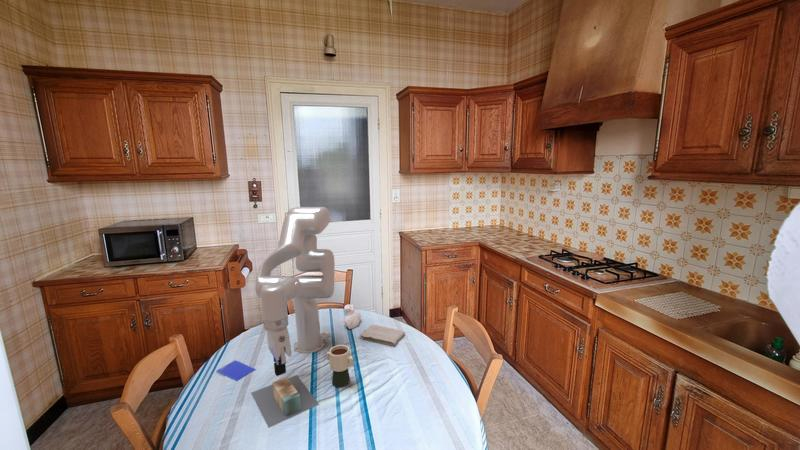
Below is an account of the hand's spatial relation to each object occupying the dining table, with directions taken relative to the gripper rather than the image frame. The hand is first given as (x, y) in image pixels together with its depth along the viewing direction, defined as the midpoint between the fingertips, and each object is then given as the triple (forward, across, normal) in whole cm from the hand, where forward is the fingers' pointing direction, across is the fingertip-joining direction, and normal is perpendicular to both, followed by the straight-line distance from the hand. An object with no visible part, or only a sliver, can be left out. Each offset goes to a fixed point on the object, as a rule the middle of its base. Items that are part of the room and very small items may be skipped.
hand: (280, 373), depth 113 cm
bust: (+9, +32, -44) cm, 55 cm away
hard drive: (+10, +26, +9) cm, 29 cm away
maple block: (+6, +2, 0) cm, 6 cm away
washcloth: (+10, +13, -49) cm, 52 cm away
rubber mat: (+9, -1, 0) cm, 9 cm away
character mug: (+9, -5, -19) cm, 22 cm away
